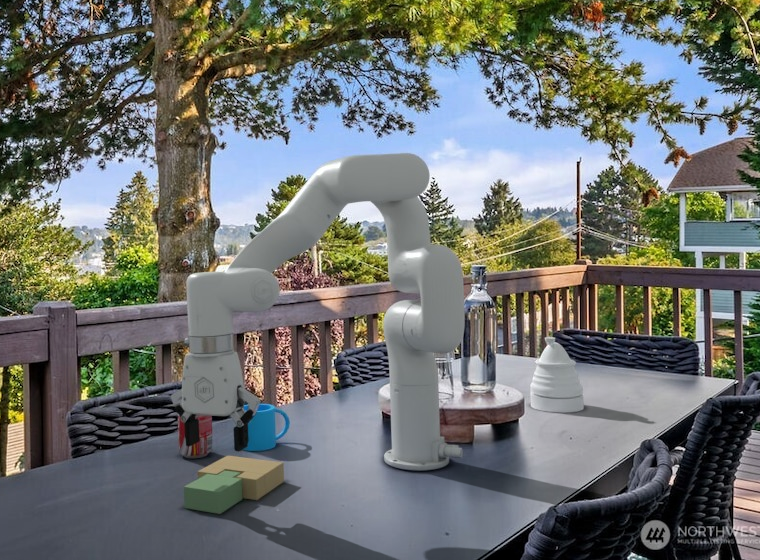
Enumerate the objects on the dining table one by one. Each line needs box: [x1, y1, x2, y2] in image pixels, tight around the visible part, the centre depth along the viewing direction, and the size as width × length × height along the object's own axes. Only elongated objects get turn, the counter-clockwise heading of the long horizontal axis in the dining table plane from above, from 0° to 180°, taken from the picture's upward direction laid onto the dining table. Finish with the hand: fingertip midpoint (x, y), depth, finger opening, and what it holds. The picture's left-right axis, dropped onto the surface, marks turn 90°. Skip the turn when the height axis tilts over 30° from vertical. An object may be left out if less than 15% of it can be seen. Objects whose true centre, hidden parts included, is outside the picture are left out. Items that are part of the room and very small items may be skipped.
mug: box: [242, 403, 291, 452], centre depth 146 cm, size 12×8×8 cm
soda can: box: [177, 413, 213, 459], centre depth 140 cm, size 7×7×12 cm
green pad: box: [183, 471, 243, 515], centre depth 113 cm, size 7×10×4 cm
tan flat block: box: [197, 455, 285, 501], centre depth 120 cm, size 12×10×4 cm
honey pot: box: [529, 336, 585, 414], centre depth 174 cm, size 13×13×18 cm
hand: (216, 446), depth 112 cm, fingers open, 9 cm apart
